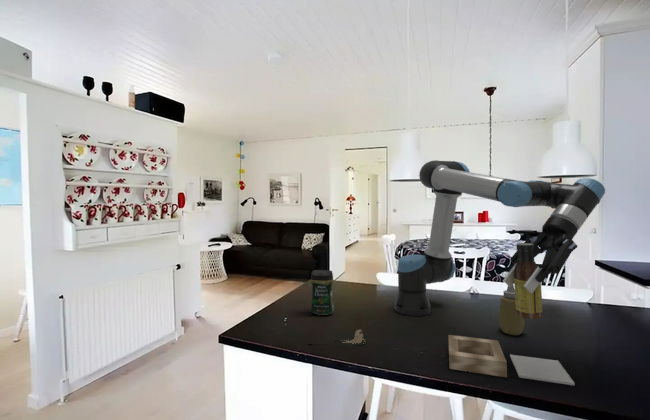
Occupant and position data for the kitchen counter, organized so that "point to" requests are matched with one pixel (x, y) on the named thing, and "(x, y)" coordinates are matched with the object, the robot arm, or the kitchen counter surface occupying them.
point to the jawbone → (356, 338)
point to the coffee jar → (322, 292)
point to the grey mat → (541, 369)
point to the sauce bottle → (525, 267)
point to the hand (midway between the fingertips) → (517, 286)
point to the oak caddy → (477, 356)
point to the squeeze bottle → (510, 314)
